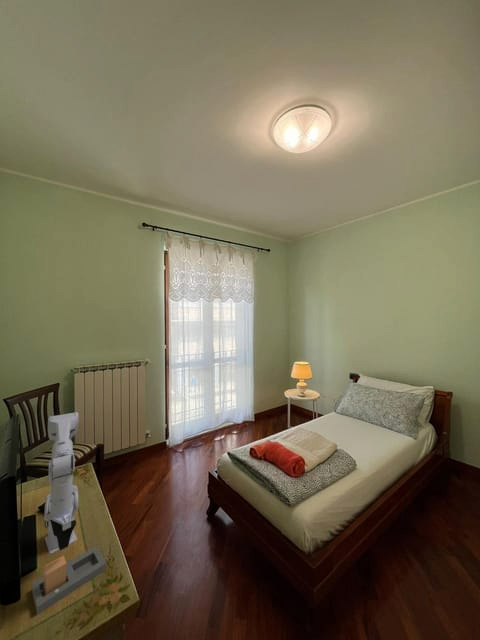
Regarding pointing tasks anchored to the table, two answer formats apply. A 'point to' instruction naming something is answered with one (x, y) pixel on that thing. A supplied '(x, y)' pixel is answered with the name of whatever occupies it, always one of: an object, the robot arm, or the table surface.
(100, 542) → the table surface
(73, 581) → the grey slotted tray
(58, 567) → the tan rectangular block
